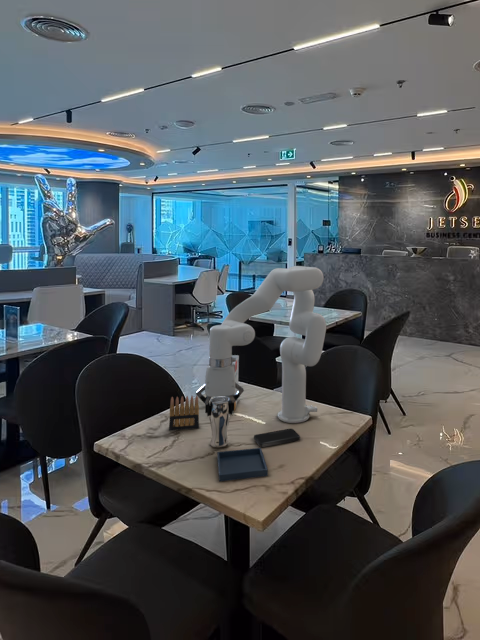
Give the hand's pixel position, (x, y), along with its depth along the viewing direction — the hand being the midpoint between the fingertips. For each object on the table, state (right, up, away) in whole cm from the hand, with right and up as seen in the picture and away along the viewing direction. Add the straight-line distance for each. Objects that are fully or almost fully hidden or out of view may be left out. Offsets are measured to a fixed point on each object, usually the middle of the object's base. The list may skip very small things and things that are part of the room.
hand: (219, 413), depth 150 cm
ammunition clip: (-16, -11, +13) cm, 23 cm away
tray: (+9, -11, -14) cm, 20 cm away
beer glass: (0, -10, 0) cm, 10 cm away
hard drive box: (-3, -11, +34) cm, 36 cm away
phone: (+19, -11, +5) cm, 23 cm away
